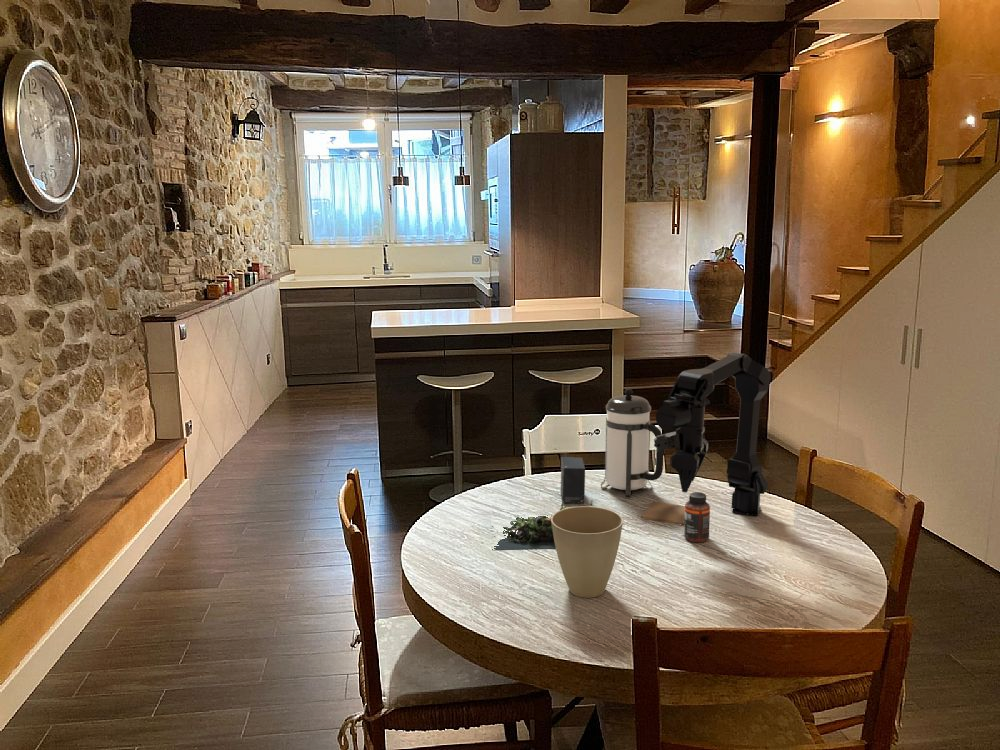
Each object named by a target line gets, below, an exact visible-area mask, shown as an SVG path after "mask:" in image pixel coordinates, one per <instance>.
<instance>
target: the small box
mask: <svg viewBox="0 0 1000 750" xmlns="http://www.w3.org/2000/svg"><path fill="white" fill-rule="evenodd" d="M560 460H561V462H560V464H561V465H560V466H561V467H560V468H561V471H560V473H561V474H560V490H559V491H560V497H561V503H562V502H563V500H564V504H585V490H586V488H585V486H586V467H585V463H584V460H583V457H578V456H577V457H573V456H571V457H569V456H561V457H560Z"/></svg>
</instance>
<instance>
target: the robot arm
mask: <svg viewBox="0 0 1000 750" xmlns="http://www.w3.org/2000/svg"><path fill="white" fill-rule="evenodd" d="M771 376H772V375H771V372H770V370H769V369H768V368H767V367H765V366H764V365H762V364H761V363H759V362H758V361H756V360H754V359H752V357H750V356H749V355H747V354H746V353H739V352H731V353H728V354H727V355H726V356H725V357H723V358H721V359H718V361H715V362H713V363H711V364H709V365H707V366H705V367H702V368H693V369H686V370H683V371H681V373H679V374H678V376H677V379H676V380H675V381H674V385H673V387H672V388H671V391H670V393H669V395H668V397H667V400H663V405H662V406H660V407H659V408H658V409H657V411H656V412H655V421H656V423H657V427H658V428H659V429H660V430H663V431H671V430H675V429H676V430H675V431H671V432H667V433H663V434H662V435H658V436H657V437H655V438H654V439H653V442H654V445H653V446H654V447H655V448H656V450H657V451H658V452H661V451H663V450H664V451H665V450H669V449H673V448H674V451H675V452H673V453H672V455H671V456H670V458H669V466H671V468H672V469H674V470H676V472H677V474H678V478H679V483H680V488H681V492H682V493H688V491H689V489H690V486H691V484H692V482H694V481H695V479H696V476H697V474H698V472H699V470H700V468H701V466H702V463H703V461H704V460H705V458H706V456H707V453H708V450H709V442H708V441H707V439H705V438H704V433H705V431H706V427H705V425H704V424H705V411H706V409H705V408H706V406H707V405H709V404H711V401H710V399H708V398H707V396H709V395H710V394H711V393H712V392H713V391H714V390H715V386H717V384H719V383H721V382H723V381H724V380H726V379H728V378H730V377H733V379H734V387H735V390H736V392H737V394H738V396H739V399H740V402H739V414H738V415H739V417H738V426H737V427H738V429H737V439H736V451H735V453H734V455H733V456H732V457H731V458H728V460H727V469H726V472H725V474H726V477H727V482H728V487H729V488H734V490H733V492H732V493H731V509H732V511H731V513H734V514H741V515H745V516H746V515H747V516H751V517H752V516H753V517H758V516H759V513H760V512H761V511H760V510H761V506H760V503H761V495H763V494H765V493H766V492H767V489H768V487H769V486H768V485H769V482H768V481H767V480H766V478H765V477H764V475H763V473H762V463H761V461H760V459H759V457H758V454H757V447H758V435H759V425H760V423H759V421H760V411H761V410H760V409H761V402H762V401H761V400H762V399H763V398H764V396H765V395H766V394H767V393H768V391H769V386H770V382H771V380H772V379H771ZM702 450H703V451H702Z"/></svg>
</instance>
